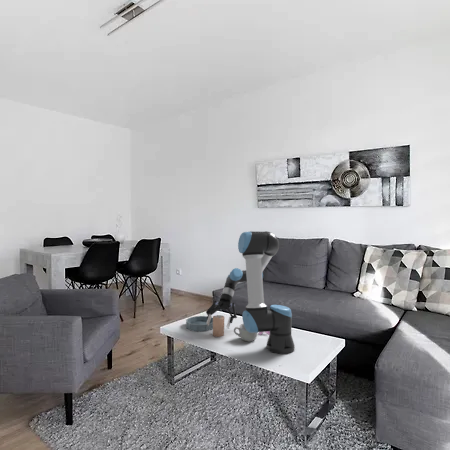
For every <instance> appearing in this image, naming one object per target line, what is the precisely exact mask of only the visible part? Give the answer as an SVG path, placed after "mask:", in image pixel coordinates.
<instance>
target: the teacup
mask: <svg viewBox="0 0 450 450" xmlns="http://www.w3.org/2000/svg"><path fill="white" fill-rule="evenodd" d="M237 330H238V332H239V333H238V332H236V331H237ZM233 334H235V335H236V336H238V337H239V338H240V339H241V340H242V341H244V342H253V341H255V340H256V339H257V336H258V333H250V332H248V331H247V330H246V328H245V326H244V323H242V324H241V323H240V325H239V326H235V327H234V328H233Z"/></svg>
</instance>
